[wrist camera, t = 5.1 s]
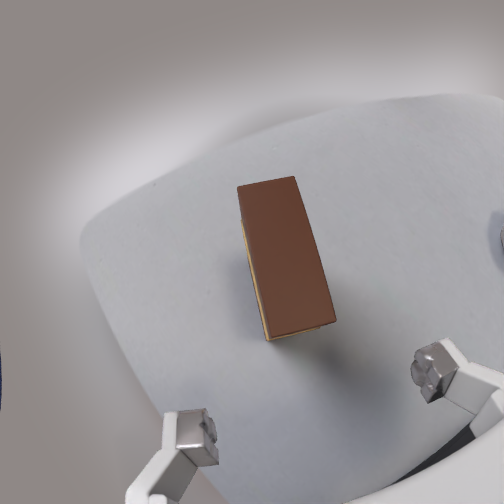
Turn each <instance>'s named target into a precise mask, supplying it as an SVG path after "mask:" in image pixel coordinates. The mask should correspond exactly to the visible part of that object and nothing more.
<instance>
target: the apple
mask: <svg viewBox="0 0 504 504" xmlns="http://www.w3.org/2000/svg"><path fill="white" fill-rule="evenodd" d="M501 240H502V244H503V248H504V225H503V228H502V231H501Z"/></svg>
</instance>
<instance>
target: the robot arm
mask: <svg viewBox="0 0 504 504" xmlns="http://www.w3.org/2000/svg"><path fill="white" fill-rule="evenodd" d="M414 357H415V359H416V360H415V361H414V362H413V363H412V365H411V376H412V379H413V381H414V383H415V384H416V385H418V386H420V387H421V394H422V396H423V397H424V399H425V400H426V402H427V404H428V403H430V402H433V401H435V400H437V399H439V398H441V397H443V396H444V397H445V398H446V399H448V400H450V401H451V402H453V403H455V404H457V405H458V406H460V407H462V408H463V409H465V410H467V411H469V412H470V413H472V414H474V415H476V417H475V418H474V419H473V420H472V422H471V423H470V426H469V427H470V429H471V431H472V432H473V434H474V436H475V437H476V439H475V440H473V441H472V442H470V443H469V444H467V445H466V446H464V447H463V448H461V449H459V450H458V451H456V452H455V453H453V454H451V455H450V456H448V457H446V458H445V459H443V460H441V461H439V462H438V463H436V464H434V465H432V466H430V467H428V468H427V469H425V470H423V471H421V472H419V473H417V474H415V475H413V476H411V477H409V478H406V479H404V480H402V481H400V482H398V483H395V484H393V485H391V486H389V487H386V488H384V489H381V490H379V491H376V492H374V493H371V494H368V495H366V496H363V497H360V498H357V499H354V500H351V501H348V502H345V503H342V504H504V374H503V373H501V372H498V371H496V370H493V369H491V368H488V367H486V366H483V365H480V364H478V363H475V362H473V361H471V362H469V361H468V360H467V359H466V358H465V356H464V355H463V354H462V353H461V351H460V350H459V349H458V348H457V347H456V345H455V344H454V343H453V342H452V341H451V339H450V338H448V337H446V338H443V339H441V340H439V341H437V342H434V343H432V344H430V345H428V346H426V347H423V348H421V349H419V350H417V351H416V352H415V355H414ZM216 441H217V432H216V427H215V424H214V422H213V420H212V418H209V416H208V411H207V410H206V408H203V409H194V410H185V411H173V412H165V414H164V418H163V433H162V450H158V451H157V452H156V453H155V455H154V456H153V457H152V459H151V460H150V461H149V463H148V464H147V465H146V466H145V468H144V469H143V470H142V472H141V473H140V474H139V475H138V477H137V478H136V479H135V481H134V482H133V483H132V484H131V486H130V487H129V488H128V489H127V491H126V497H125V504H179V503H178V502H179V500H180V499H181V497H182V495H183V494H184V492H185V490H186V488H187V486H188V485H189V483H190V481H191V480H192V478H193V476H194V474H195V473H196V471H197V469H198V468H197V467H203V466H212V465H219V455H218V449H217V448H216V446H215V445H214V444H215V443H216Z"/></svg>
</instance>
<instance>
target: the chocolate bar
mask: <svg viewBox="0 0 504 504" xmlns="http://www.w3.org/2000/svg"><path fill="white" fill-rule="evenodd" d="M237 192H238V198H239V205H240V211H241V218H242V219H241V224H242V230H243V236H244V241H245V245H246V250H247V256H248V262H249V267H250V271H251V276H252V280H253V285H254V289H255V293H256V298H257V302H258V307H259V311H260V316H261V320H262V324H263V329H264V333H265V338H266V341H270V340H275V339H279V338H283V337H287V336H291V335H295V334H299V333H303V332H307V331H311V330H315V329H318V328H320V327H321V326H324V325H328V324H331V323H334V322H336V321H337V319H336V315H335V311H334V308H333V304H332V300H331V296H330V292H329V289H328V285H327V281H326V278H325V274H324V270H323V267H322V263H321V260H320V256H319V253H318V250H317V246H316V243H315V239H314V236H313V233H312V230H311V226H310V223H309V220H308V217H307V213H306V210H305V207H304V204H303V201H302V198H301V195H300V192H299V189H298V186H297V183H296V180H295V177H294V176H290V177H285V178H279V179H274V180H268V181H263V182H258V183H253V184H248V185H243V186H238V187H237Z"/></svg>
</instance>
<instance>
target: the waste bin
mask: <svg viewBox="0 0 504 504" xmlns="http://www.w3.org/2000/svg"><path fill="white" fill-rule="evenodd" d="M471 422H472V421H471ZM471 422H470V423H471ZM470 423H469V424H468V425H467V426H466V427H465V428H464V429H463V430H462V431H460V432H459V433H458V434H457V435H456V436H455V437H454V438H453V439H452V440H450V441H449V442H448V443H447V444H446V445H445V446H443V447H442V448H441V449H440V450H438V451H437V452H436V453H435V454H433V455H432V456H431V457H430V458H428V459H427V460H426V461H424V462H423V463H422V464H420V465H419V466H418V467H416V468H415V469H414V470H412V471H411V472H409V473H408V474H406V475H405V476H403V477H402V478H401V479H399V480H397V481H396V482H394V483H393V484H395V483H398V482H400V481H402V480H404V479H406V478H409V477H411V476H413V475H415V474H417V473H419V472H421V471H423V470H425V469H427V468H428V467H430V466H432V465H434V464H436V463H438V462H439V461H441V460H443V459H445V458H446V457H448V456H450V455H451V454H453V453H455V452H456V451H458V450H459V449H461V448H463V447H464V446H466V445H467V444H469V443H470V442H472V441H473V440H475V439H476V437H475V436H474V434H473V432H472V431H471V429H470V427H469V426H470ZM393 484H391V485H393ZM391 485H390V486H391ZM388 487H389V486H388Z"/></svg>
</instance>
